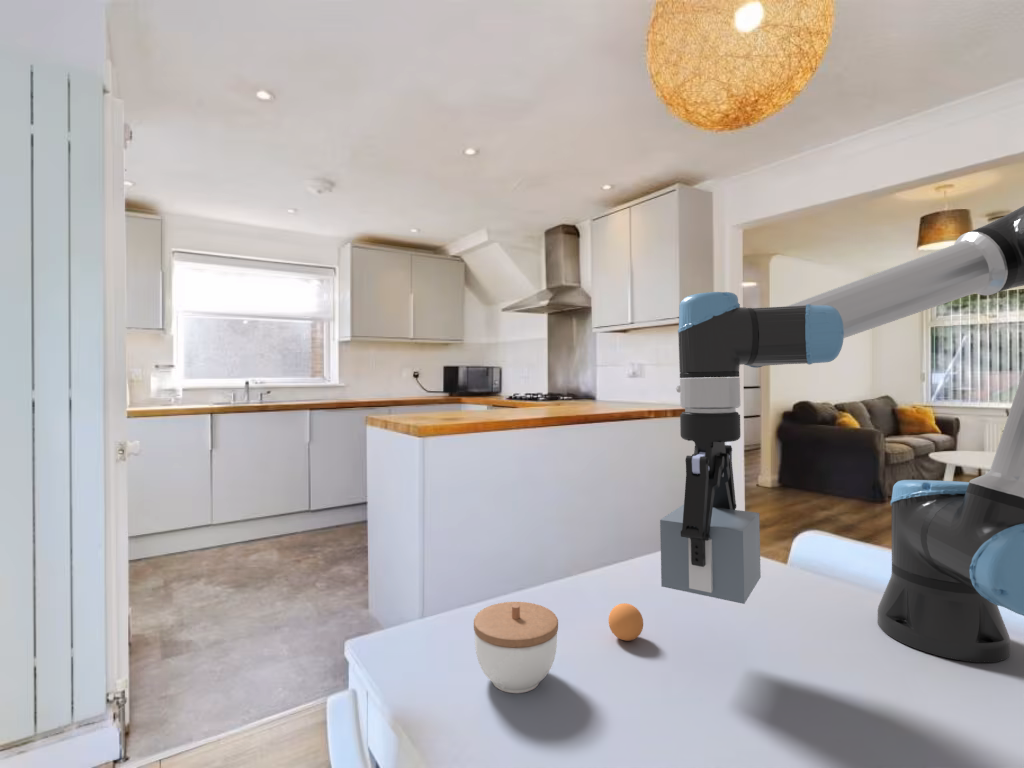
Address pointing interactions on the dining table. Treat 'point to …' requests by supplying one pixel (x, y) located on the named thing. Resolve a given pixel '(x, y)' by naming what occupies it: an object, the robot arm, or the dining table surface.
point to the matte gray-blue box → (715, 553)
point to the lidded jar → (515, 644)
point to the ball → (625, 622)
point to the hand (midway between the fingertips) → (712, 575)
